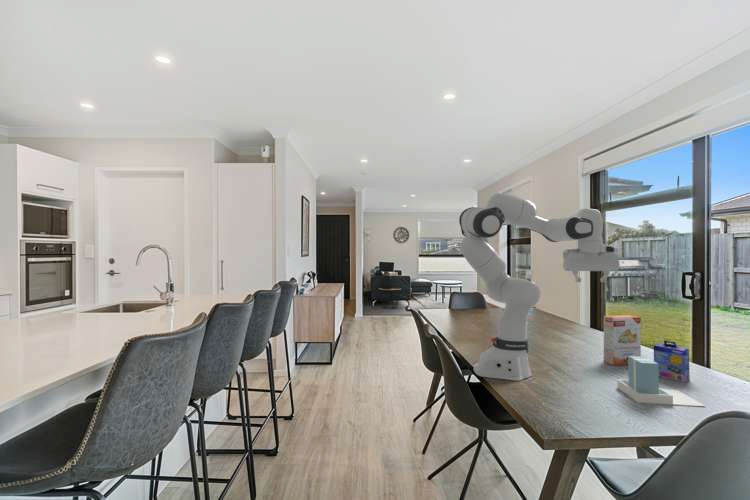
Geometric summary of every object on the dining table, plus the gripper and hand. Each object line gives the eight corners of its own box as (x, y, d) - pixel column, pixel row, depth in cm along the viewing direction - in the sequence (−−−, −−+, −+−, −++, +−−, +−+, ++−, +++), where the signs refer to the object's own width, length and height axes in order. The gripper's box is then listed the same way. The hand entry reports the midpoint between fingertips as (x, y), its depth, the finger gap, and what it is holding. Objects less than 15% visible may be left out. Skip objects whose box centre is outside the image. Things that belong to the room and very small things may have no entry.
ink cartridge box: (653, 375, 137) (652, 339, 137) (658, 372, 140) (657, 337, 140) (685, 382, 129) (684, 344, 129) (690, 379, 132) (689, 342, 132)
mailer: (638, 402, 112) (638, 393, 112) (617, 387, 125) (617, 379, 125) (705, 407, 108) (705, 397, 108) (677, 390, 121) (676, 382, 121)
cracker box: (614, 366, 148) (613, 317, 148) (603, 362, 154) (602, 315, 154) (642, 364, 150) (641, 316, 151) (629, 360, 156) (629, 314, 156)
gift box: (641, 399, 114) (641, 362, 114) (628, 389, 122) (628, 355, 122) (659, 400, 113) (658, 363, 113) (644, 390, 121) (644, 356, 121)
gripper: (565, 248, 139) (566, 282, 139) (621, 248, 136) (622, 282, 136) (560, 248, 146) (560, 281, 145) (613, 248, 142) (613, 281, 142)
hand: (590, 282), depth 141 cm, fingers open, 8 cm apart
